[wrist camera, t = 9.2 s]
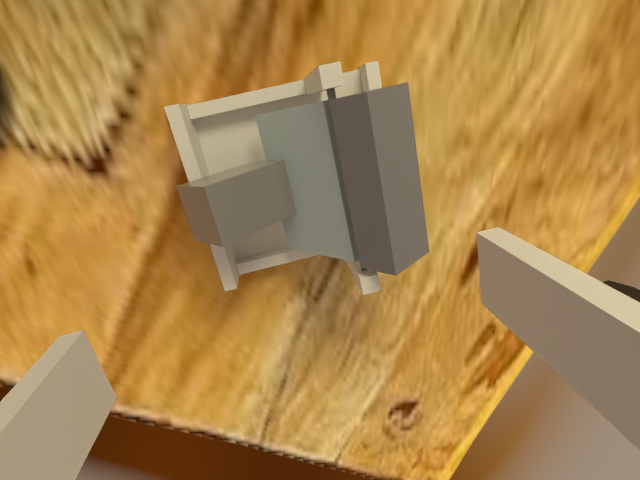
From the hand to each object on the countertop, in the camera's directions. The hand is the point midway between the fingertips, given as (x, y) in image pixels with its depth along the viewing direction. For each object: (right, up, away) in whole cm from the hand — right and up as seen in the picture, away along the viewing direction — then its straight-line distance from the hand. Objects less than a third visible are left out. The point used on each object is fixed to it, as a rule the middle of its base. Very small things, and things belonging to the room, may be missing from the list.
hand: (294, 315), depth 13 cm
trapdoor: (+4, +8, +21) cm, 23 cm away
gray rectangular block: (-4, +8, +24) cm, 25 cm away
